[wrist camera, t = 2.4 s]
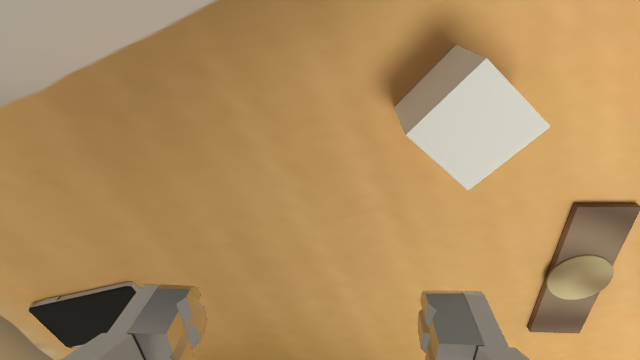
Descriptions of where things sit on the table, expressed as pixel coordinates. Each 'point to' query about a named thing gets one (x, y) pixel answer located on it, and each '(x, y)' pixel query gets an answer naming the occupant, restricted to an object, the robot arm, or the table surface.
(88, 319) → the smartphone
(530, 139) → the white cube
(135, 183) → the table surface
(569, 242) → the strip
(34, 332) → the table surface
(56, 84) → the table surface
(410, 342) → the table surface
